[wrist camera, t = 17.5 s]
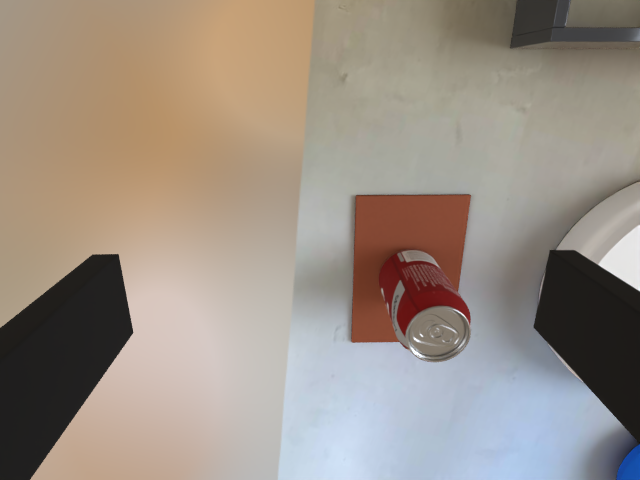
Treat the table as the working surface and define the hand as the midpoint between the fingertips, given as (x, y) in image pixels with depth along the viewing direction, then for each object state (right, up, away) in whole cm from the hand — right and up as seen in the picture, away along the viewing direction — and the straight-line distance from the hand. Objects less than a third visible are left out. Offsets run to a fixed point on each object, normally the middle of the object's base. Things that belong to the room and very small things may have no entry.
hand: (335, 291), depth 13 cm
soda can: (+9, -2, +34) cm, 35 cm away
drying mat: (+9, -2, +34) cm, 35 cm away
